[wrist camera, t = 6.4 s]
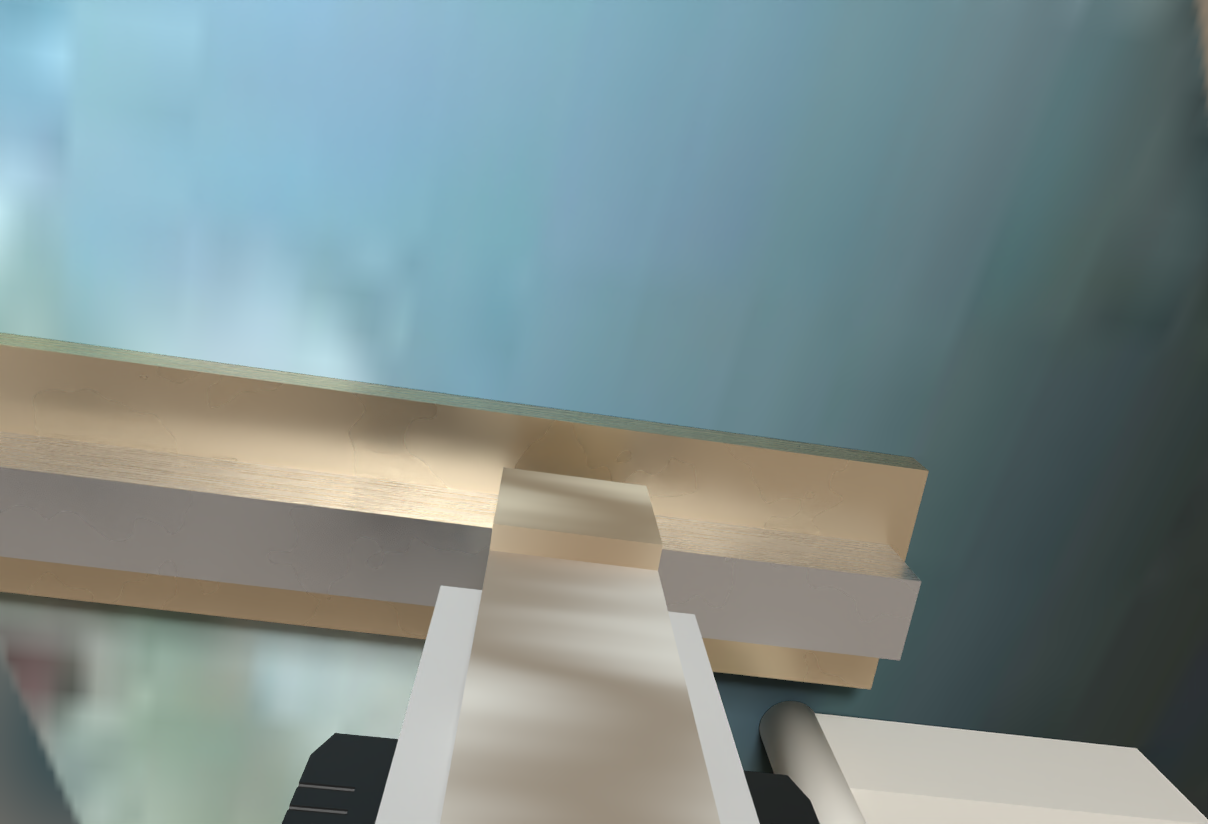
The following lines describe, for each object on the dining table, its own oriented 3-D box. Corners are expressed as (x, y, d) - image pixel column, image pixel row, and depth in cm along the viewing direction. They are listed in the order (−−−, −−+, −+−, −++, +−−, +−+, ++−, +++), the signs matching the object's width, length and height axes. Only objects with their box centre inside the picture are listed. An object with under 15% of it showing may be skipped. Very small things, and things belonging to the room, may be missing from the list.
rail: (-87, 560, 22) (-187, 620, 19) (-100, 318, 20) (-211, 344, 17) (858, 668, 24) (899, 737, 21) (912, 457, 22) (965, 500, 19)
